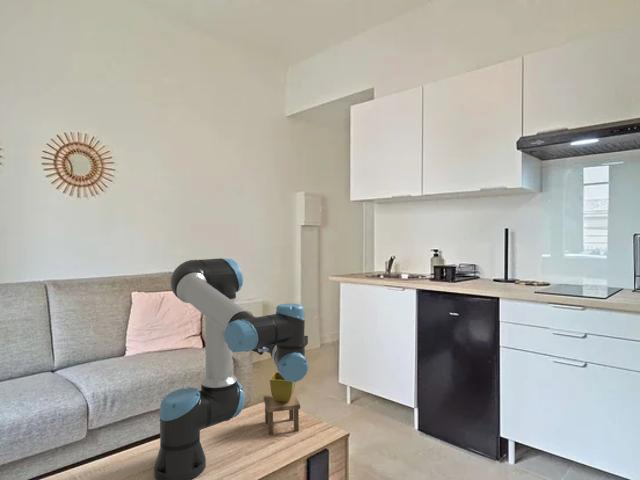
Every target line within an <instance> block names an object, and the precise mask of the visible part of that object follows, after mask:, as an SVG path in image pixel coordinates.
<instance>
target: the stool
mask: <svg viewBox="0 0 640 480" xmlns="http://www.w3.org/2000/svg"><path fill="white" fill-rule="evenodd" d="M263 402H264V423H265V424H267V425H268V430H267V431H268V435H269V436H273V435H274V412H283V411H288V417H289V418H288V419H289V421H290V422H291V421H293V431H294V432H295V433H296V432H299V431H300V429H299V427H300V425H299V424H300V422H299V421H300V419H299V416H300V415H299V413H300V412H299V411H300V409H301V404H300V401H299V400H298V398H297V396H296V394H295V392H293V394H292V396H291V398H290V400H289V402H279V401H275V400H274V398H273V396H272V394H270V395H263Z"/></svg>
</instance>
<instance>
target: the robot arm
mask: <svg viewBox="0 0 640 480" xmlns="http://www.w3.org/2000/svg"><path fill="white" fill-rule="evenodd" d="M243 284H244V276H243V272H242V269H241V267H240V265H239V264H238V262H236V261H235V260H234V259H232V258H224V257H223V258H222V257H221V258H219V257H218V258H207V259H206V258H205V259H204V258H202V259H190V260H185V261H184V262H182V263H180V264H179V265H178V266H177V267H175V269H174V270H173V272H172V275H171V276H170V288H171V290H172V293H173V295H174V296H175V297H176V298H177V300H180V301H181V302H183V303H186V304H190V305H191V306H193V307H194V308H195V309H196V310H197V311H199V312H200V313H201V314H202V315H203V316H204V319H205V320H204V324H205V325H204V326H205V332H204V334H205V335H204V336H205V346H204V347H205V377H204V378H203V379H202V380H201V382H200V385H201V388H200V390H199V389H198V388H196V387H186V388H184V387H182V388H179V389H176V390H173V391H171V392H169V393H167V394H166V395H165V396H164V397H163V399H162V400H161V402H160V406H159V414H158V416H159V438H160V439H159V442H160V443H159V444H160V445H159V449H158V453H157V456H156V460H155V463H154V467H153V475H154V478H155V479H156V480H193V479H194V478H196V477H199V475H201V474H202V473H203V472H204V471H205V469H206V465H207V461H206V459H207V458H206V454H205V451H204V449H203V446H202V443H201V437H200V435H201V430H202V431H203V430H205V429H207V428H210V427H213V426H215V425H218V424H219V425H220V424H221V423H225V422H228V421H230V420H232V419H233V418H236V417H238V416H239V415H240V414H241V412H242V411H243V409H244V405H245V399H246V398H245V392H244V390H243V388H244V387H243V386H242V384H241V383H240V382H239V381H238V378H237V377H236V376H235V375H234V374H233V353H242V352H250V351H252V352H254V353H257V354H258V355H259V356H261V355H263V354H265V352H266V353H269V354H270V357H271V359H272V361H273V362H274V364H275V366H276V368H277V371H278V372H279V373H280V375H281V376H282V377H283V378H284V379H285V380H287V381H289V382H295V383H296V382H299V381H302V380H303V379H304V378H305V376H306V375H307V374H308V371H309V364H308V360H307V358H306V355H305V353H306V349H305V348H306V347H307V345H308V344H309V341H308V340H309V336H308V335H305V324H306V323H305V322H306V320H305V319H306V318H305V308H304V306H303V304H300V303H281V304H278V305H277V306H276V307H275V308H276V310H275V313H273V314H268V315H262V316H255V315H252V313H250V312H249V311H247V310H246V309H244V308H243V307H241V306H240V305H239V304H237V303H236V302H234V301H235V300H236V299H237V292H239V291H241V289H242V287H243Z"/></svg>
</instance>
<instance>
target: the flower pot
mask: <svg viewBox="0 0 640 480" xmlns="http://www.w3.org/2000/svg"><path fill="white" fill-rule="evenodd" d="M269 384H270V387H269V388H270V392H271V393H270V394H271V395H272V396H273V398H274V400H275V401H279V402H289V400H290V398H291V396H292V394H293V393H294V391H295V388H296V382H289V381H287V380H285V379H284V378H283V377H282V376H281V375H280V373H279V371H278V372H276V371H275V372H274V373H273V374H272V376H271V377H270V378H269Z"/></svg>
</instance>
